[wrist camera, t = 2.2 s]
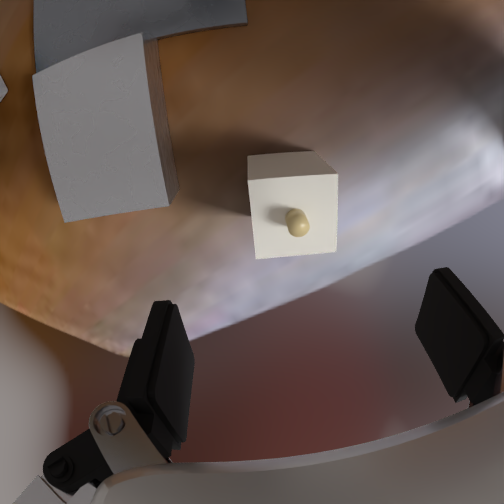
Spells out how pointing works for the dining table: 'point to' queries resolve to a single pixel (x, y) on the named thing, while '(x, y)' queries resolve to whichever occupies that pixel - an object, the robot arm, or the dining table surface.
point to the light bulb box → (2, 89)
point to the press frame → (112, 97)
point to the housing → (292, 204)
